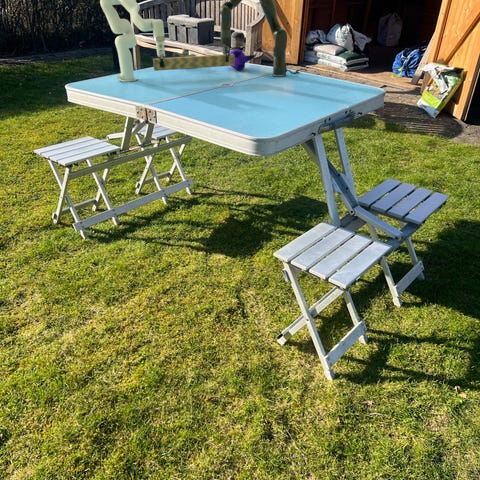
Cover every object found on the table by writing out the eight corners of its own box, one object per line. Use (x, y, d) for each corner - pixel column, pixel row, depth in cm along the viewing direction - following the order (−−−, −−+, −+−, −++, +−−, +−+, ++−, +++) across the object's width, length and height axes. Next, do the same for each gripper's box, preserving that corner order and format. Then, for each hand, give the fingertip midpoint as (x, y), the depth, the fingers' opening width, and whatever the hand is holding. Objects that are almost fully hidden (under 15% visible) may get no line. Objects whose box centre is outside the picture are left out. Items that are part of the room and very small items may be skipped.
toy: (240, 72, 359) (228, 71, 382) (259, 65, 362) (246, 64, 386) (234, 52, 351) (222, 52, 375) (253, 45, 354) (241, 45, 378)
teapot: (196, 65, 393) (195, 47, 386) (199, 67, 384) (198, 49, 376) (172, 67, 388) (170, 48, 380) (175, 69, 378) (173, 50, 370)
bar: (154, 70, 322) (153, 59, 318) (153, 69, 326) (152, 58, 322) (234, 65, 334) (234, 54, 330) (233, 64, 338) (232, 53, 334)
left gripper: (165, 40, 308) (168, 68, 318) (163, 37, 322) (165, 64, 332) (154, 40, 307) (157, 68, 316) (152, 37, 321) (155, 64, 330)
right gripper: (233, 37, 320) (233, 62, 328) (228, 35, 332) (229, 59, 340) (222, 37, 318) (223, 63, 327) (218, 35, 330) (219, 60, 339)
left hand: (161, 66), depth 324 cm, fingers closed on bar, 4 cm apart
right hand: (226, 61), depth 333 cm, fingers closed on bar, 4 cm apart
